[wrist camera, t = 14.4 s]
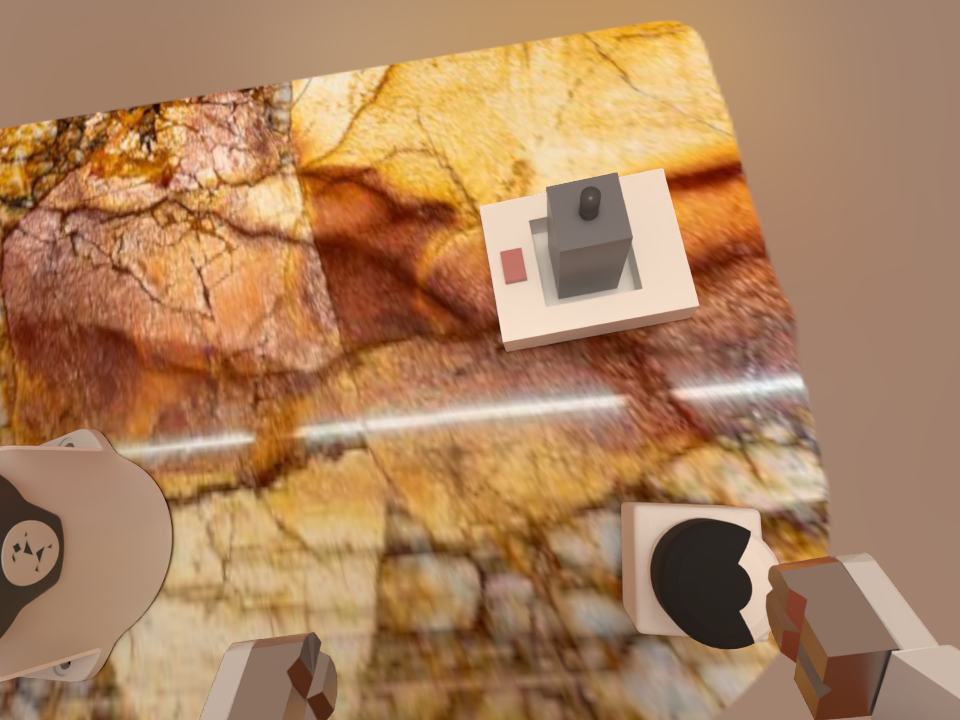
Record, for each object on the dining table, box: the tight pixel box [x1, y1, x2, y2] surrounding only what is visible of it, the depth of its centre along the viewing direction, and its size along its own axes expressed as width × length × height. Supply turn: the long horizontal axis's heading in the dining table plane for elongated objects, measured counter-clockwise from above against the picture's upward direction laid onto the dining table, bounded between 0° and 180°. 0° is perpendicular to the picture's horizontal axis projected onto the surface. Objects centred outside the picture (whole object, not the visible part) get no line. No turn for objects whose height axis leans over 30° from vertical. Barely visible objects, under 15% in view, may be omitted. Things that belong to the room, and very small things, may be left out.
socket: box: [479, 168, 699, 352], centre depth 43 cm, size 14×11×4 cm
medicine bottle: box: [621, 502, 779, 649], centre depth 33 cm, size 7×7×12 cm
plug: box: [546, 173, 633, 299], centre depth 38 cm, size 4×4×11 cm
